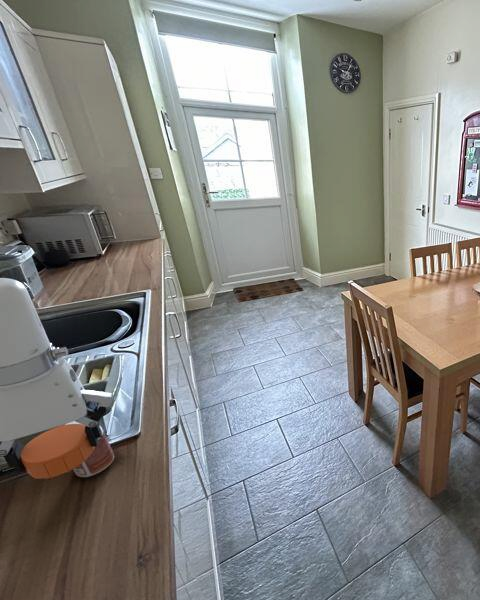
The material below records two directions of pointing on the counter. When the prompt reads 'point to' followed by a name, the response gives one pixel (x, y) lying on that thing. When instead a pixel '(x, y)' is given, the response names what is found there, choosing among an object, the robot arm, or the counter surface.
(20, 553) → the counter surface
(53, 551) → the counter surface
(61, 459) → the cap
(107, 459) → the pill bottle
